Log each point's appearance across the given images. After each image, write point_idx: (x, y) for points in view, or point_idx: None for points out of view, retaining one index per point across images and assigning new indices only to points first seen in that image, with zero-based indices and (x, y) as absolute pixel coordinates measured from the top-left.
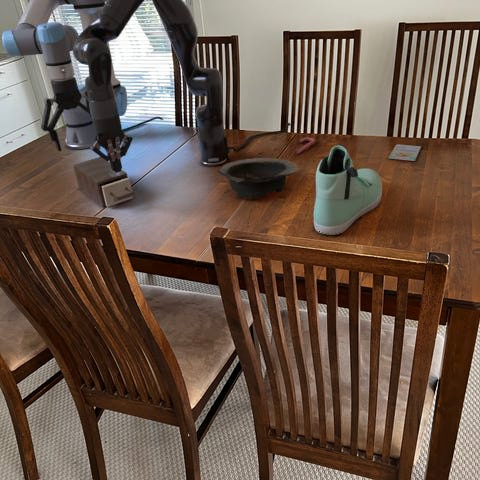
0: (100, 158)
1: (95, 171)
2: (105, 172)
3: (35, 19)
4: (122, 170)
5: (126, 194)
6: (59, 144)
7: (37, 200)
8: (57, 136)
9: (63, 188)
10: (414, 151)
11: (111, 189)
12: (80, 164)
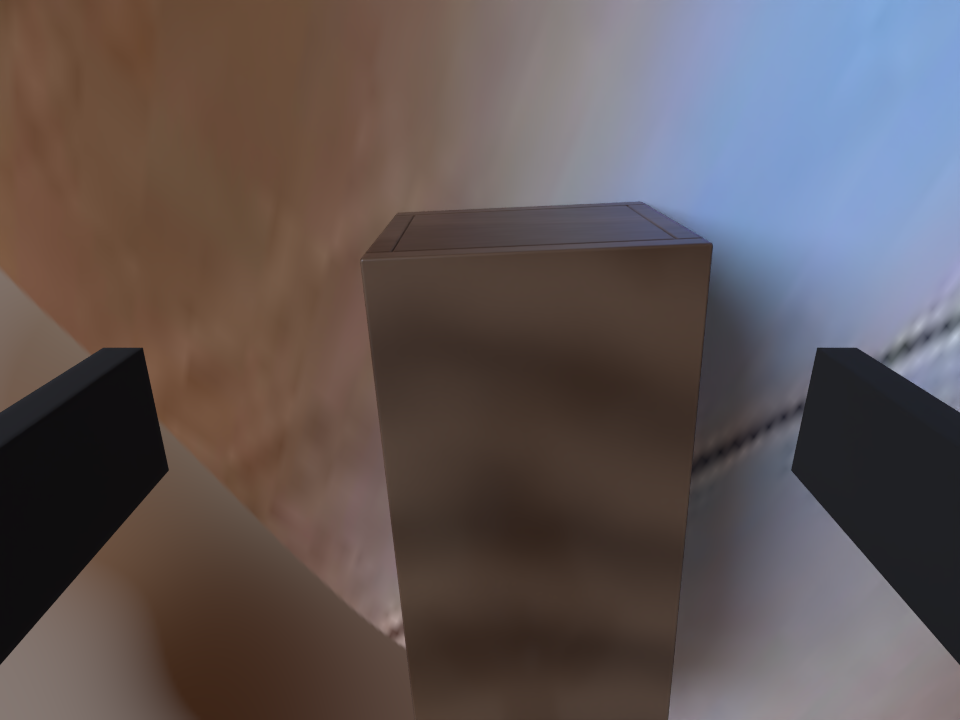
0: (677, 301)
1: (489, 572)
2: (546, 641)
3: None
4: (668, 687)
5: None
6: (104, 536)
7: (55, 205)
8: (1, 657)
9: (282, 117)
10: None
11: None
12: (433, 311)
